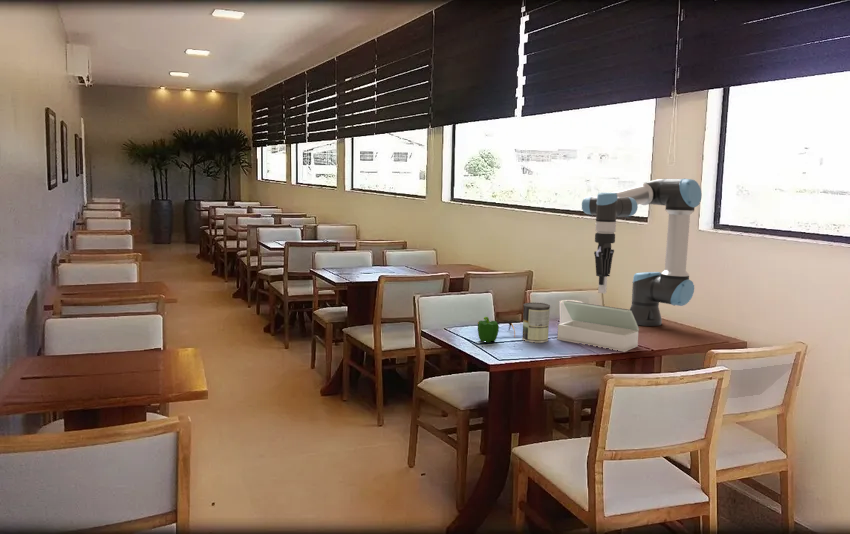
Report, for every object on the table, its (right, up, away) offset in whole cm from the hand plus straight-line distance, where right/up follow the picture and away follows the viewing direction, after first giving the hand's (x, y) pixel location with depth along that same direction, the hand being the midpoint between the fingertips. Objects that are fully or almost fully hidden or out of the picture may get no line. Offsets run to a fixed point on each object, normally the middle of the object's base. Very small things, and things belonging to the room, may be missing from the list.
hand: (602, 292), depth 267 cm
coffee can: (-26, -19, +3) cm, 32 cm away
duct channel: (-2, -20, +1) cm, 20 cm away
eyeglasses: (-40, -18, +13) cm, 46 cm away
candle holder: (-8, -17, +24) cm, 30 cm away
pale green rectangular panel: (-1, -9, +1) cm, 9 cm away
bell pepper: (-45, -19, -1) cm, 49 cm away
